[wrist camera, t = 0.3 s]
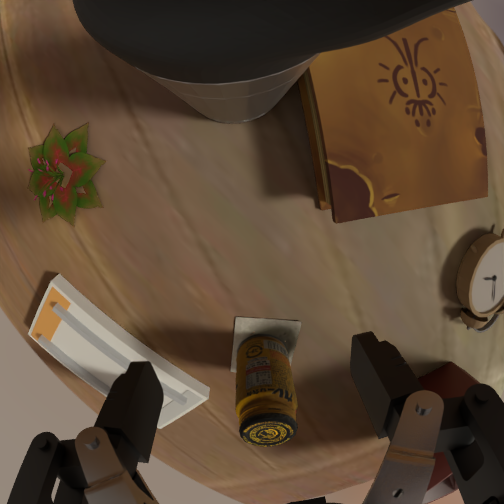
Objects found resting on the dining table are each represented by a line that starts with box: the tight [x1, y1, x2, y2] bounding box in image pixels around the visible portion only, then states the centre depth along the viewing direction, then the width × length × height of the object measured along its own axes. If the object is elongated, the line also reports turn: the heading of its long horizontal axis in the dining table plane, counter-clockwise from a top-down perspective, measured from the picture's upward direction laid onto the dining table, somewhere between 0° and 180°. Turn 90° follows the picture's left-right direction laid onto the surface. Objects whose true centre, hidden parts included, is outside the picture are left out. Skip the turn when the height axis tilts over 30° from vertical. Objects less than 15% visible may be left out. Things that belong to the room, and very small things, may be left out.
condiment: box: [231, 317, 302, 447], centre depth 27 cm, size 7×8×12 cm
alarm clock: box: [456, 229, 504, 333], centre depth 30 cm, size 11×5×15 cm
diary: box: [297, 7, 488, 224], centre depth 20 cm, size 23×19×6 cm
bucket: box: [418, 362, 481, 504], centre depth 28 cm, size 24×22×25 cm
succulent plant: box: [27, 122, 106, 227], centre depth 23 cm, size 12×12×5 cm
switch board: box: [28, 274, 210, 429], centre depth 32 cm, size 24×12×3 cm, turn 46°
